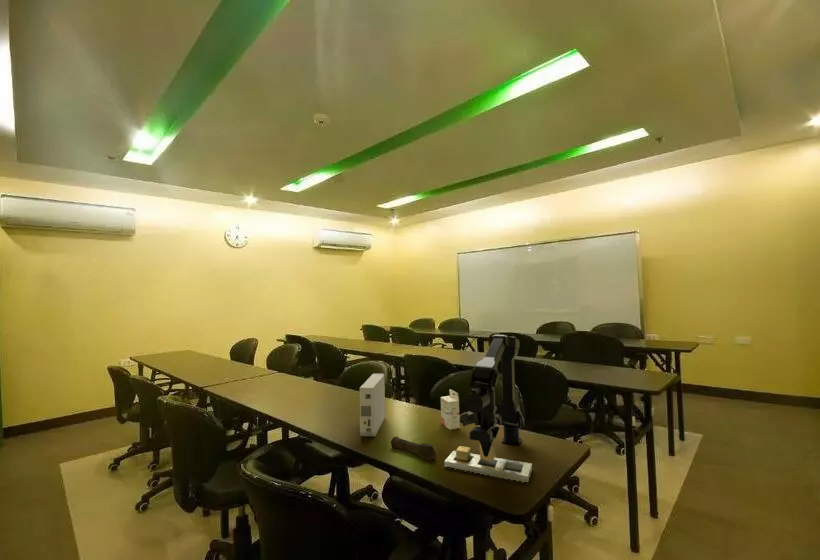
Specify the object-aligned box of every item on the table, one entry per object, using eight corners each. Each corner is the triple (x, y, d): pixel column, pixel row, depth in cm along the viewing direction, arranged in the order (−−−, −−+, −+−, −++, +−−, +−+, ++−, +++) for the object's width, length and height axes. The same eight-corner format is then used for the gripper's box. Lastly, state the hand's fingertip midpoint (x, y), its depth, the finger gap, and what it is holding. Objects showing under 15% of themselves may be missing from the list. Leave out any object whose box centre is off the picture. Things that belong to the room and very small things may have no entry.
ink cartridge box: (440, 423, 161) (439, 389, 162) (450, 422, 163) (449, 388, 163) (449, 430, 153) (448, 394, 154) (460, 428, 155) (459, 393, 155)
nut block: (483, 454, 121) (482, 435, 121) (495, 456, 119) (494, 437, 120) (480, 459, 117) (479, 439, 118) (492, 461, 116) (492, 441, 116)
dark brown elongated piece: (390, 449, 136) (389, 436, 136) (397, 445, 139) (397, 433, 139) (430, 464, 123) (430, 449, 123) (437, 459, 126) (437, 446, 126)
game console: (385, 416, 172) (385, 373, 173) (374, 439, 145) (373, 387, 146) (373, 416, 173) (373, 373, 174) (360, 438, 146) (359, 387, 147)
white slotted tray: (453, 456, 128) (453, 441, 128) (532, 470, 117) (531, 454, 117) (444, 467, 120) (444, 451, 120) (528, 483, 109) (527, 465, 109)
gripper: (470, 394, 131) (471, 439, 130) (453, 409, 114) (454, 461, 113) (501, 397, 126) (503, 444, 126) (488, 414, 109) (490, 467, 109)
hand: (487, 453), depth 118 cm, fingers closed on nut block, 4 cm apart
